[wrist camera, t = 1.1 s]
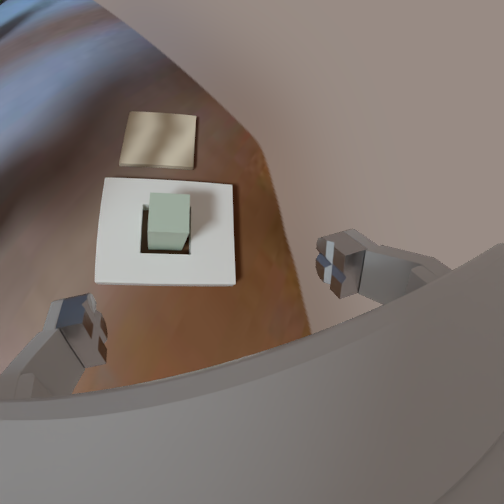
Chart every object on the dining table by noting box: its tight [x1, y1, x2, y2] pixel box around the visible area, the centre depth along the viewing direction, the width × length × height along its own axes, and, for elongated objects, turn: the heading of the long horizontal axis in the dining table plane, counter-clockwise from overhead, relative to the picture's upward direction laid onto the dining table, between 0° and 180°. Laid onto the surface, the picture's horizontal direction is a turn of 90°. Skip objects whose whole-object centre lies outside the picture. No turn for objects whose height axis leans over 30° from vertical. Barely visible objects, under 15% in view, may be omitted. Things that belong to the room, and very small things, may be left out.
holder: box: [95, 178, 236, 286], centre depth 36 cm, size 18×14×2 cm
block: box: [148, 192, 190, 250], centre depth 34 cm, size 4×4×8 cm
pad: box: [119, 111, 196, 170], centre depth 40 cm, size 11×10×1 cm
